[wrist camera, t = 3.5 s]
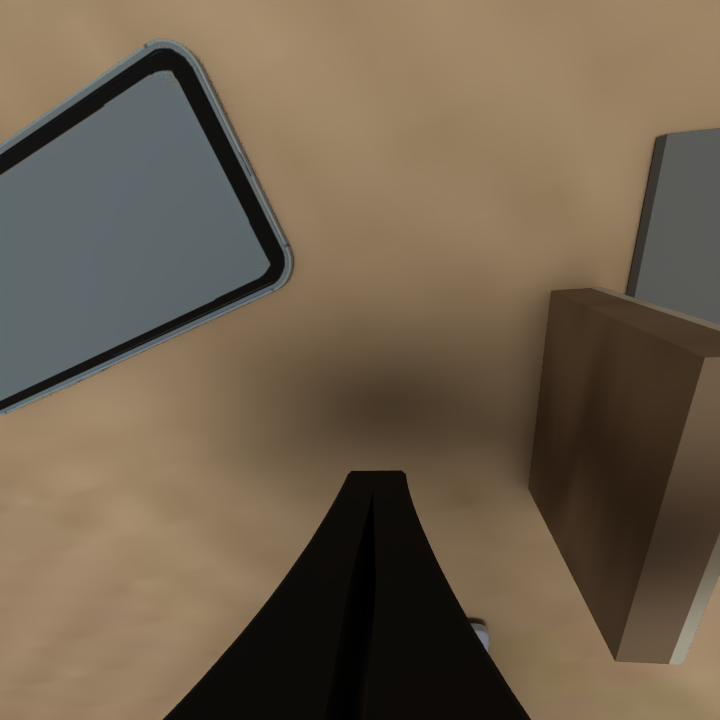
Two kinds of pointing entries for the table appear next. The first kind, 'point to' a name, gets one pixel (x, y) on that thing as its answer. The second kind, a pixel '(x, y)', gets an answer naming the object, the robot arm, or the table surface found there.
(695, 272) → the mat
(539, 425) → the brown wooden block
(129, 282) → the smartphone
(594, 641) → the table surface
